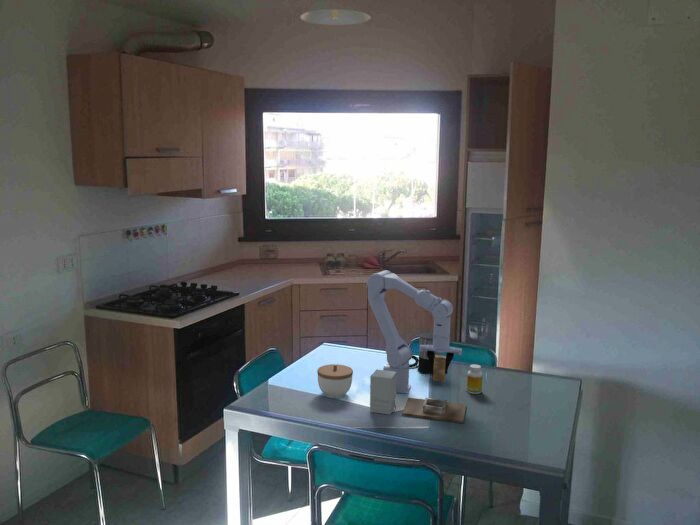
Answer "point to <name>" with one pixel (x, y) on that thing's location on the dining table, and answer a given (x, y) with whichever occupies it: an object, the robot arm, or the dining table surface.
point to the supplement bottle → (474, 379)
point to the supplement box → (383, 391)
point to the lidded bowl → (334, 380)
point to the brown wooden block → (439, 368)
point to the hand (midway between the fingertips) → (439, 372)
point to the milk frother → (424, 354)
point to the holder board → (434, 409)
